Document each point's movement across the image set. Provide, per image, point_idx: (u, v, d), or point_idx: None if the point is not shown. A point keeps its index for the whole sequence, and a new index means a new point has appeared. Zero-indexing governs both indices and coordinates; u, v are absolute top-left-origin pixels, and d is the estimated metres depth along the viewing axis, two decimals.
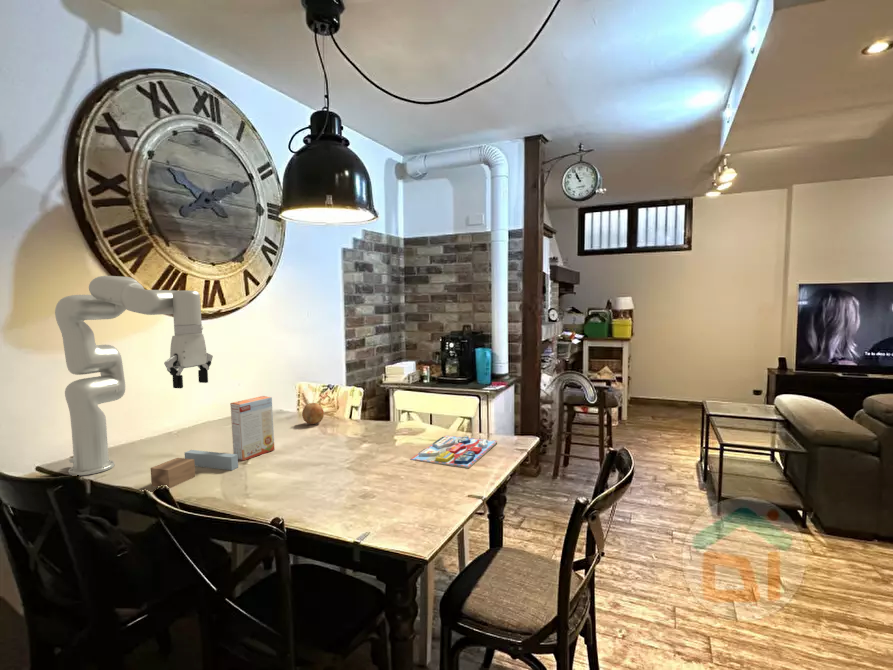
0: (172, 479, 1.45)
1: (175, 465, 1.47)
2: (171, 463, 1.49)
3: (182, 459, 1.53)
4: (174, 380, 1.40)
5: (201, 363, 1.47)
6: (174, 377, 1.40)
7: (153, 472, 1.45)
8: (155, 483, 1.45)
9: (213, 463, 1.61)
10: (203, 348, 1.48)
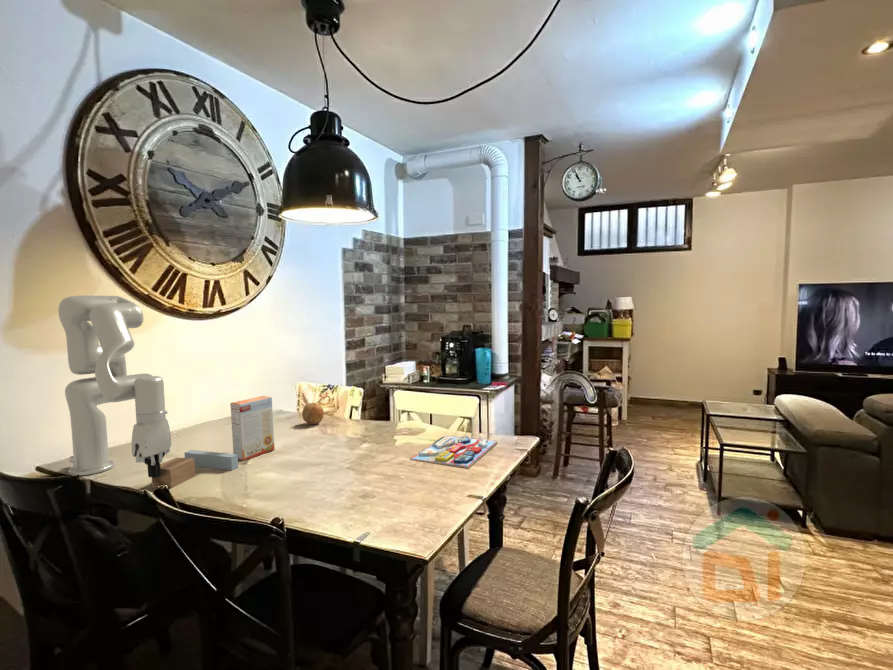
0: (174, 478, 1.45)
1: (176, 464, 1.48)
2: (172, 463, 1.49)
3: (182, 458, 1.53)
4: (149, 470, 1.41)
5: (165, 449, 1.44)
6: (149, 467, 1.41)
7: None
8: (156, 483, 1.45)
9: (213, 463, 1.61)
10: (167, 434, 1.44)
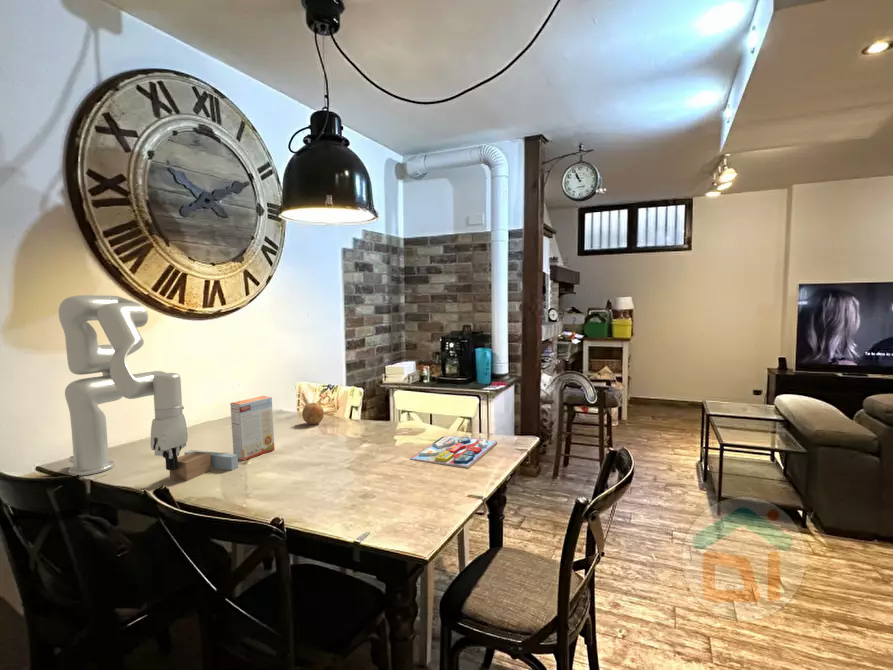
0: (189, 471, 1.51)
1: (192, 458, 1.53)
2: (189, 456, 1.55)
3: (199, 452, 1.59)
4: (167, 463, 1.47)
5: (182, 443, 1.50)
6: (167, 460, 1.47)
7: None
8: (173, 475, 1.51)
9: (213, 463, 1.61)
10: (184, 428, 1.50)
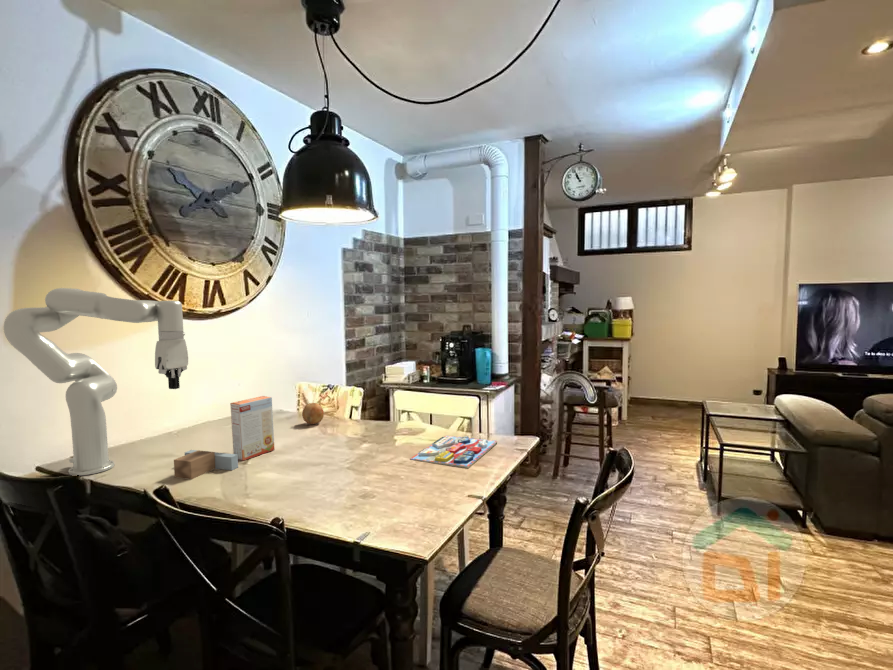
0: (194, 470, 1.52)
1: (197, 457, 1.55)
2: (193, 455, 1.57)
3: (203, 451, 1.60)
4: (169, 382, 1.62)
5: (183, 365, 1.65)
6: (169, 379, 1.62)
7: (176, 463, 1.53)
8: (178, 474, 1.53)
9: None
10: (185, 352, 1.65)
